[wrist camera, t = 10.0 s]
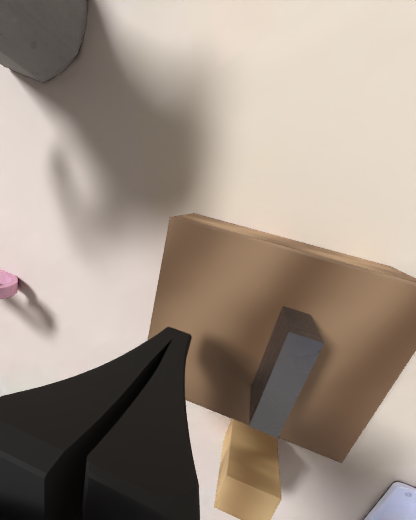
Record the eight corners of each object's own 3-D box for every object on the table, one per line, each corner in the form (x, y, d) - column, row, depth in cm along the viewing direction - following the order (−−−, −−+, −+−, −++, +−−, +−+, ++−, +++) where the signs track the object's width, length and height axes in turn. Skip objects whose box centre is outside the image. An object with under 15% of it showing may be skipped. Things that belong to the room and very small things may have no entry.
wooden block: (275, 428, 20) (281, 499, 15) (263, 456, 21) (264, 530, 16) (233, 412, 20) (226, 475, 16) (223, 440, 22) (214, 507, 17)
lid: (434, 287, 11) (512, 325, 8) (336, 445, 14) (359, 518, 11) (176, 216, 13) (148, 221, 10) (146, 371, 16) (119, 413, 13)
